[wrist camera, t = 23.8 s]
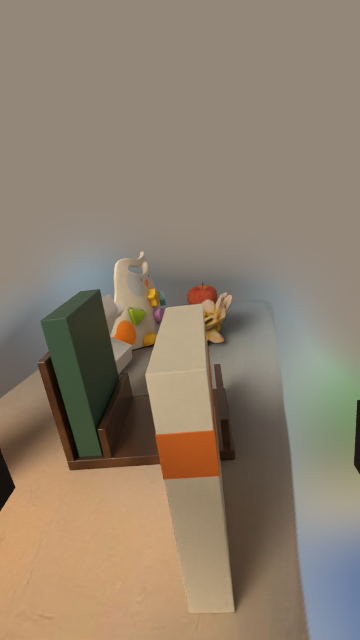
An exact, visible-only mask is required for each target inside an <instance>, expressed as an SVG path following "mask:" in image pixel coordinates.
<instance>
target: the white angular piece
mask: <svg viewBox="0 0 360 640" xmlns="http://www.w3.org/2000/svg"><path fill="white" fill-rule="evenodd" d="M102 302H103V307H104V311H105V316H106V320H107V325H108V329H109V334H110V335H111V332H112V329H113V326H114V323H115V320H116V319H117V318H118V317H120V316H121V314H122V313H123V311H124V309H125V308H124V307H122V306H121V305H120V304H118V303H116V304H115V302H114V301H113V299H112V298H111V296H110V295H109V294H108V295H106V296H105V297H103V298H102ZM110 339H111V343H112V348H113V352H114V357H115V362H116V366H117V371H118V374H119V373H120V372H121V371H122V370H123V369H124V368H125V367H126V365H127V364H128V363H129V362H130V361H131V360H132V345H131V344H128V343H126V342H123V341H121V340H119V339H116V338H114V337H111V336H110Z"/></svg>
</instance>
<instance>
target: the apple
mask: <svg viewBox="0 0 360 640" xmlns="http://www.w3.org/2000/svg"><path fill="white" fill-rule="evenodd" d="M207 299H209V300H211V301H213V302H214V305H215V304H216V302H217V292H216V290H215V288H214V287H212V286H209V285H203V283H202V285H201V286H196V287H193V288H192V289H190V290H189V292H188V295H187V300H188V303H189V305H194V304H201V303H202V302H204V301H205V300H207Z"/></svg>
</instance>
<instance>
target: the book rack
mask: <svg viewBox="0 0 360 640" xmlns="http://www.w3.org/2000/svg"><path fill="white" fill-rule="evenodd" d="M37 364H38V367H39V370H40V373H41V377H42V380H43V383H44V387H45V390H46V393H47V396H48V400H49V403H50V406H51V409H52V413H53V416H54V419H55V422H56V426H57V429H58V432H59V435H60V439H61V442H62V445H63V449H64V452H65V455H66V458H67V461H68V465H69V468H70V470H80V469H95V468H109V467H124V466H138V465H153V464H161V463H160V458H159V453H158V447H157V442H156V437H155V434H156V431H155V425H154V420H153V414H152V409H151V404H150V398H149V395H144V396H133V395H132V390H131V385H130V381H129V376H128V373H122V376H121V378H120V380H119V382H118V385H117V387H116V389H115V391H114V394H113V396H112V398H111V400H110V403H109V405H108V407H107V409H106V412H105V414H104V416H103V418H102V421H101V423H100V425H99V427H98V434H99V438H100V442H101V445H102V449H103V455H102V456H89V457H80V456H79V453H78V450H77V446H76V443H75V439H74V436H73V432H72V429H71V425H70V422H69V418H68V415H67V412H66V408H65V405H64V401H63V398H62V394H61V391H60V387H59V384H58V380H57V377H56V374H55V370H54V367H53V363H52V360H51V356H50V353H49V352H48V353H47V354H46V355H45V356H44V357H43V358H42V359H41V360H40V361H39V362H38V363H37ZM214 368H215V377H216V387H217V389H213V400H214V409H215V418H216V427H217V436H218V445H219V454H220V460H226V459H235V453H234V445H233V439H232V432H231V426H230V420H229V413H228V407H227V400H226V394H225V388H224V387H223V381H222V374H221V367H220V364H215V365H214Z"/></svg>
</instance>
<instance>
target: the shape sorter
mask: <svg viewBox="0 0 360 640" xmlns="http://www.w3.org/2000/svg"><path fill="white" fill-rule="evenodd" d="M141 265H142V268H143V274H141V275H139V274H135V273H132V272H130V271H129V270H128V266H133V267H137V266H141ZM114 287H115V297H114V302H115V304H116V303H118V304H120V305H121V306H122V307H124V308H125V309H124V311H123V313H122V314H121V316H120V317H118V318H117V319H116V320H115V323H114V326H113V329H112V332H111V335H110V336H111V337H114V338H116V339H119V340H121V341H123V342H126V343H128V344H131V345H132V350H134V349H138V348H141V347H144V346H149V345H152V344H155V341H156V338H157V335H158V331H159V328H160V325H161V322H162V318H163V315H164V310H163V309H162V308H161V306H163V305H165V303H166V302H165V297H164V294H163V291H160V292H157V290H156V289H155V286H154V283H153V279H152V276H151V273H150V270H149V267H148V264H147V261H146V258H145V255H144V252H140V257H139V258H138V259H130V258H125V259H121V260H119V261H118V262H117V263H116V265H115V270H114ZM128 308H130V309H128Z"/></svg>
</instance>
